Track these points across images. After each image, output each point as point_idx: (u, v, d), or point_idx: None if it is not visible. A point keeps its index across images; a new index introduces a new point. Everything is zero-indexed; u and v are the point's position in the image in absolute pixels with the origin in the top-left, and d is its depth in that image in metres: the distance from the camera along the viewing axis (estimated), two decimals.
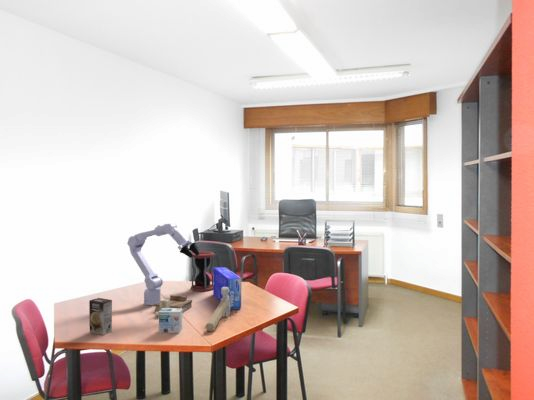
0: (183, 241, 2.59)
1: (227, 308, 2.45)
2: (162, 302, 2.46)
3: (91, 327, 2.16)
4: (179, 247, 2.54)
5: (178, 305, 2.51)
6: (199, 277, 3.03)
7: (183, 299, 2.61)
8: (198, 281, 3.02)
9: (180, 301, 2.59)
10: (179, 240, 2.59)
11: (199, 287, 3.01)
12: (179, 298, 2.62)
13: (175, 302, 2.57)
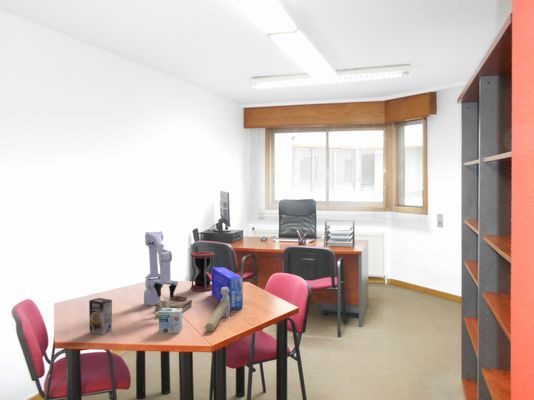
0: (160, 279, 2.46)
1: (227, 308, 2.45)
2: (162, 302, 2.46)
3: (91, 327, 2.16)
4: None
5: (178, 305, 2.51)
6: (199, 277, 3.03)
7: (183, 299, 2.61)
8: (198, 281, 3.02)
9: (180, 301, 2.59)
10: None
11: (199, 287, 3.01)
12: (179, 298, 2.62)
13: (175, 302, 2.57)
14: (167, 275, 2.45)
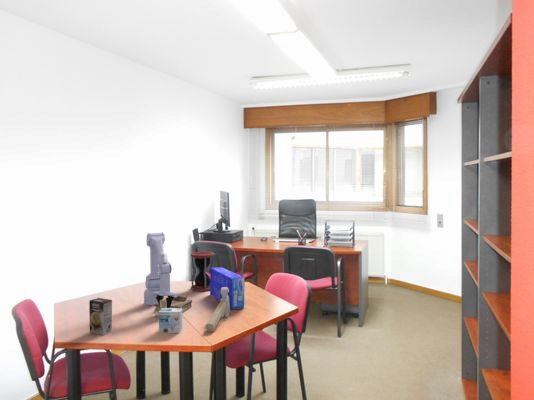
0: (159, 291, 2.47)
1: (227, 308, 2.44)
2: (162, 302, 2.46)
3: (91, 327, 2.16)
4: None
5: (178, 305, 2.51)
6: (199, 277, 3.03)
7: (183, 299, 2.61)
8: (198, 281, 3.02)
9: (180, 301, 2.59)
10: None
11: (199, 287, 3.01)
12: (179, 298, 2.62)
13: (175, 302, 2.57)
14: (167, 287, 2.45)
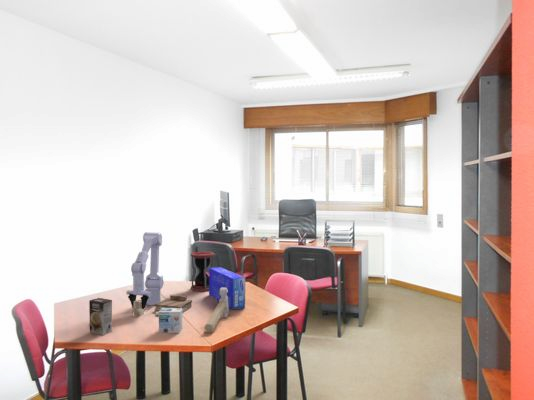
0: (133, 290, 2.45)
1: (225, 309, 2.44)
2: (136, 303, 2.44)
3: (91, 327, 2.16)
4: None
5: (178, 305, 2.51)
6: (199, 277, 3.03)
7: (183, 299, 2.61)
8: (198, 281, 3.02)
9: (180, 301, 2.59)
10: None
11: (199, 287, 3.01)
12: (179, 298, 2.62)
13: (175, 302, 2.57)
14: (140, 286, 2.43)
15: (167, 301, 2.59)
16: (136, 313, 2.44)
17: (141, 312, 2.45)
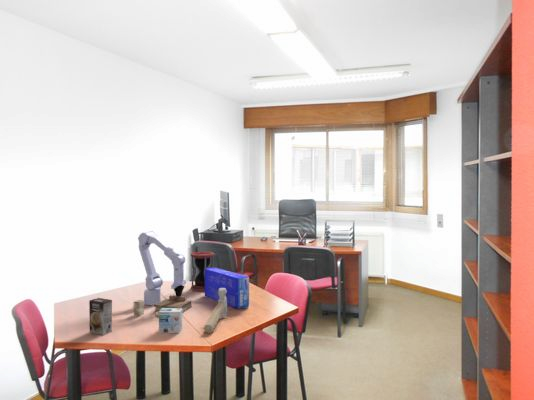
0: (179, 281, 2.60)
1: (224, 309, 2.43)
2: (136, 303, 2.44)
3: (91, 327, 2.16)
4: (172, 287, 2.56)
5: (177, 306, 2.49)
6: (199, 277, 3.03)
7: (182, 299, 2.60)
8: (198, 281, 3.02)
9: (179, 302, 2.58)
10: (177, 278, 2.60)
11: (199, 287, 3.01)
12: (178, 298, 2.61)
13: (174, 303, 2.56)
14: None
15: (166, 302, 2.58)
16: (136, 313, 2.44)
17: (141, 312, 2.45)
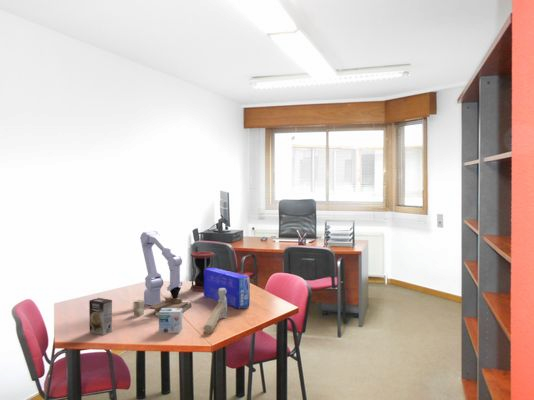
0: (175, 283, 2.56)
1: (224, 309, 2.42)
2: (136, 303, 2.44)
3: (91, 327, 2.16)
4: (168, 288, 2.52)
5: None
6: (199, 277, 3.03)
7: (178, 302, 2.55)
8: (198, 281, 3.02)
9: (175, 304, 2.54)
10: (173, 280, 2.56)
11: (199, 287, 3.01)
12: (174, 301, 2.56)
13: (170, 305, 2.52)
14: None
15: (162, 304, 2.54)
16: (136, 313, 2.44)
17: (141, 312, 2.45)
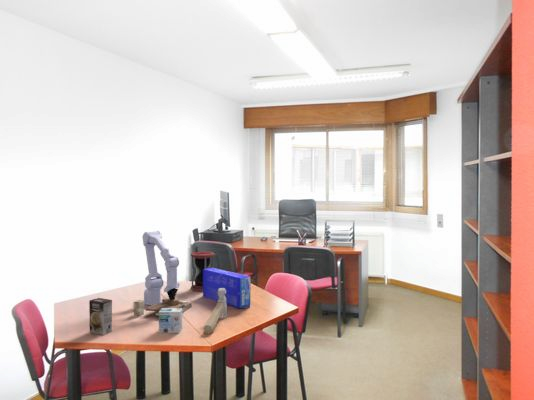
0: (172, 284, 2.53)
1: (224, 309, 2.42)
2: (136, 303, 2.44)
3: (91, 327, 2.16)
4: (165, 290, 2.48)
5: None
6: (199, 277, 3.03)
7: (175, 303, 2.52)
8: (198, 281, 3.02)
9: (172, 305, 2.50)
10: (170, 281, 2.52)
11: (199, 287, 3.01)
12: (171, 302, 2.53)
13: (167, 306, 2.48)
14: None
15: (159, 305, 2.50)
16: (136, 313, 2.44)
17: (141, 312, 2.45)
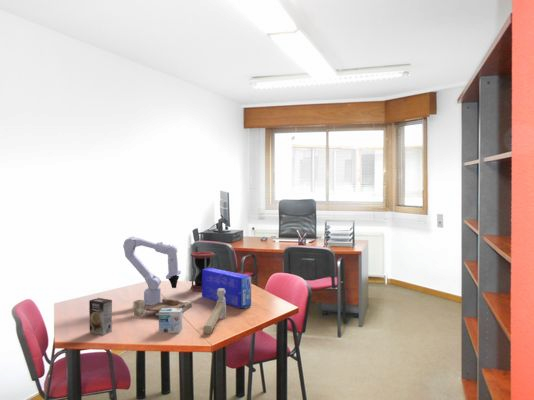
0: (174, 271, 2.67)
1: (223, 310, 2.42)
2: (136, 303, 2.44)
3: (91, 327, 2.16)
4: (167, 277, 2.63)
5: None
6: (199, 277, 3.03)
7: (175, 303, 2.52)
8: (198, 281, 3.02)
9: (172, 305, 2.50)
10: (171, 268, 2.67)
11: (199, 287, 3.01)
12: (171, 302, 2.53)
13: (167, 306, 2.48)
14: None
15: (159, 305, 2.50)
16: (136, 313, 2.44)
17: (141, 312, 2.45)
